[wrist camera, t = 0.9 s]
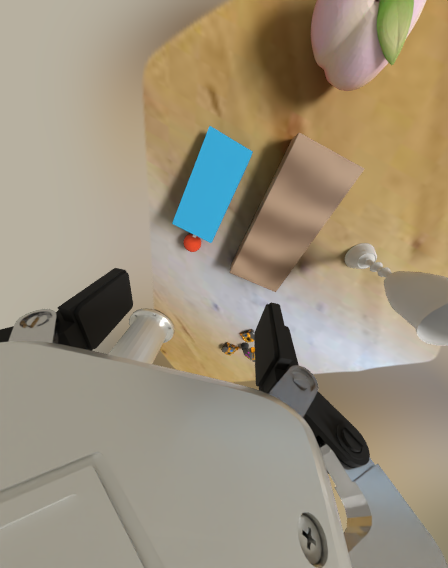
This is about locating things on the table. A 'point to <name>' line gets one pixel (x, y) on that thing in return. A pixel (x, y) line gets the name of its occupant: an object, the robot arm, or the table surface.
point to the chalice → (410, 294)
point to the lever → (211, 187)
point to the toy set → (247, 338)
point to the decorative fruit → (360, 37)
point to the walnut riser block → (293, 211)
